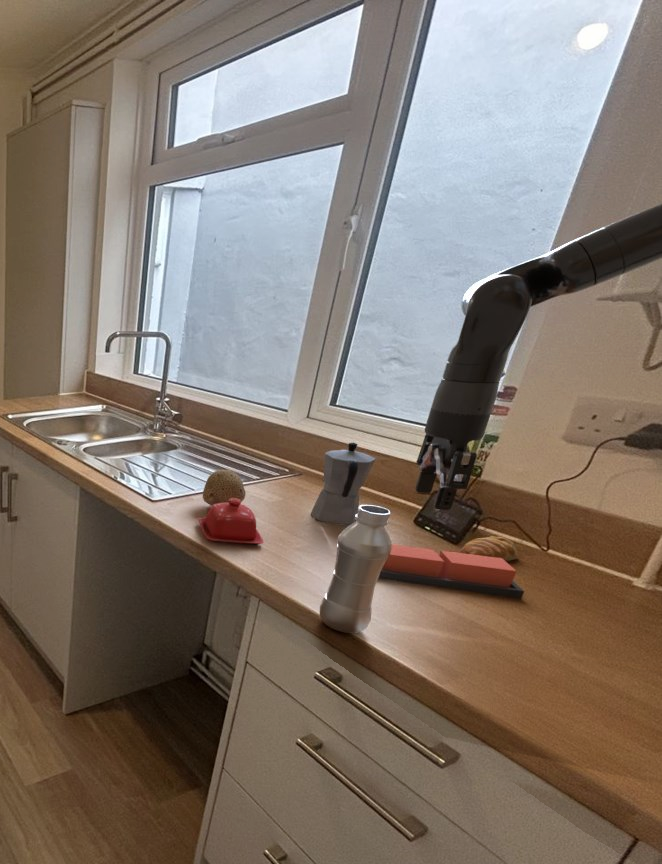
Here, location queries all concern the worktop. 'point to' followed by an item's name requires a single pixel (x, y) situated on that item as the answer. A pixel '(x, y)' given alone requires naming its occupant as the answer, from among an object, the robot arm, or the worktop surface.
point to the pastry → (491, 548)
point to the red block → (476, 569)
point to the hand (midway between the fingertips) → (431, 500)
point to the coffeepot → (342, 485)
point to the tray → (454, 584)
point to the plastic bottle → (357, 571)
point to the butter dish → (231, 523)
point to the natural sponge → (223, 487)
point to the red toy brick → (414, 561)
